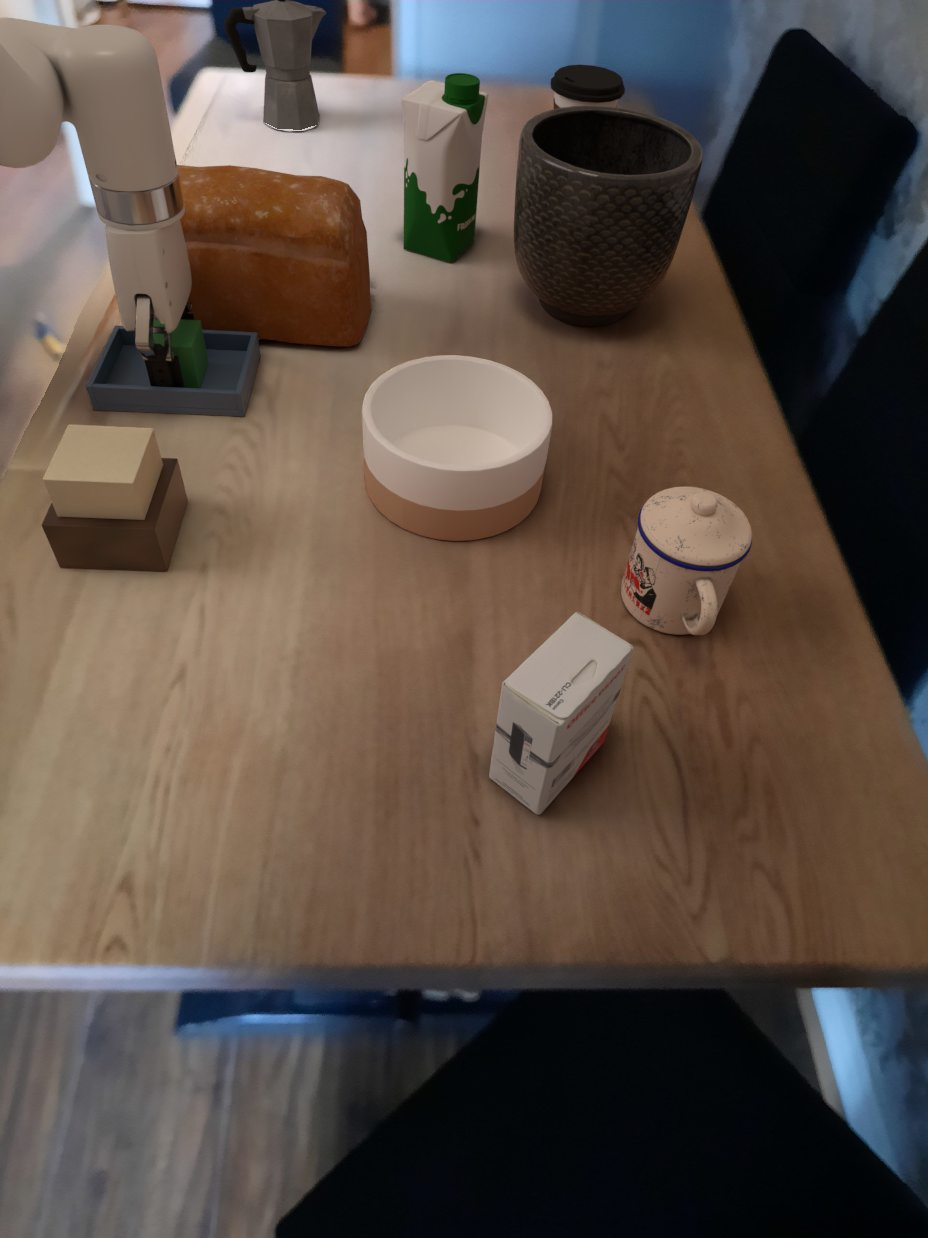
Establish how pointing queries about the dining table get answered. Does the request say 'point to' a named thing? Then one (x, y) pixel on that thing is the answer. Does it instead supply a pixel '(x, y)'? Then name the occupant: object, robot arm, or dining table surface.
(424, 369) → the bowl
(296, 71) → the coffeepot
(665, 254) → the planter
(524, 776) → the ink box
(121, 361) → the tray
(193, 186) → the bread
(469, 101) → the milk carton
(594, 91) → the coffee cup
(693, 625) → the teacup with lid
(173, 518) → the walnut block
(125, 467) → the cream block
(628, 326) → the dining table surface
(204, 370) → the green block
